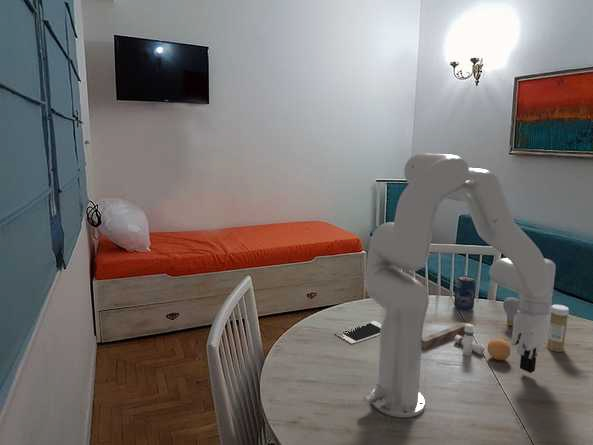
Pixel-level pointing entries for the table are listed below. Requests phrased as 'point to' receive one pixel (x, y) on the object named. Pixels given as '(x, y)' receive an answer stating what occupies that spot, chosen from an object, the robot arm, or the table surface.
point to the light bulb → (510, 309)
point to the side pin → (468, 339)
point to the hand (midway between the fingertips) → (527, 369)
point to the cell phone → (363, 332)
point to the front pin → (475, 346)
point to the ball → (498, 349)
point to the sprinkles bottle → (557, 328)
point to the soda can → (464, 293)
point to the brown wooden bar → (443, 336)
